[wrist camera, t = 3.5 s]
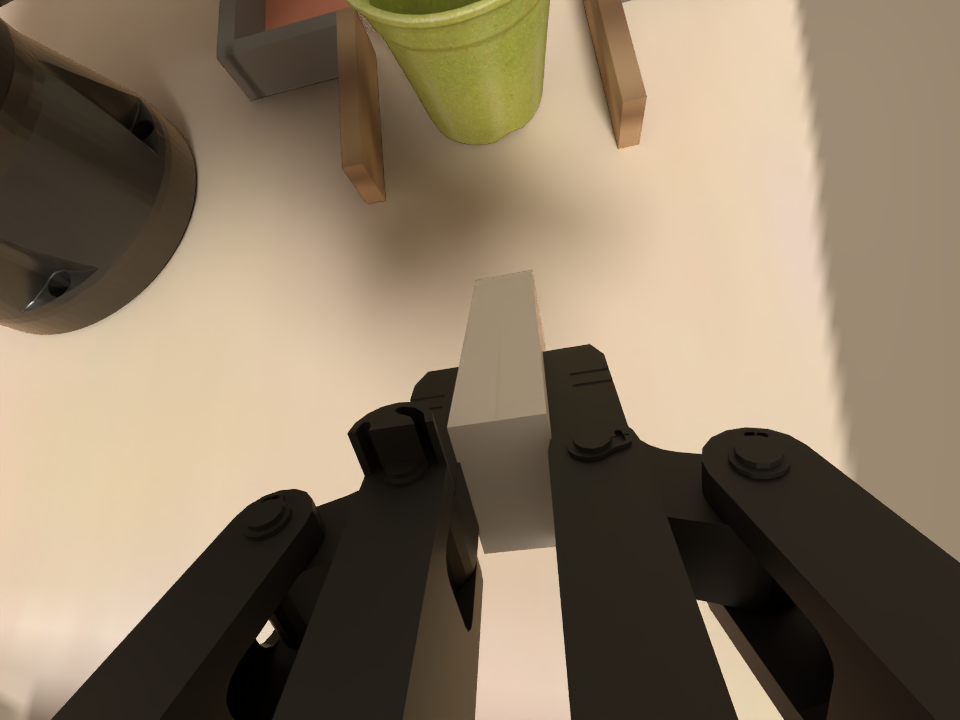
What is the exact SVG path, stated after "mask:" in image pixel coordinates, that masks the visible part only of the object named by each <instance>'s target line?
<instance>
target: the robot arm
mask: <svg viewBox="0 0 960 720" xmlns="http://www.w3.org/2000/svg"><path fill="white" fill-rule="evenodd" d="M11 1H13V0H0V7H2V6H3V5H5V4H7V3H9V2H11ZM195 187H196V175H195V166H194V161H193V157H192V154H191V151H190V148H189V146H188V144H187V142H186V140H185V139H184V137H183V136H182V135H181V133H180V132H179V131H178V130H177V129H176V128H175V127H174V126H173V125H172V124H171V123H170V122H169V121H168V120H167V119H166V118H165V117H164V116H163V115H161V114H160V113H159V112H158V111H157V110H156V109H155V108H154V107H153V106H152V105H151V104H149V103H148V102H147V101H146V100H144V99H143V98H142V97H140V96H139V95H137V94H136V93H134V92H132V91H131V90H129V89H127V88H125V87H123V86H121V85H119V84H117V83H115V82H113V81H111V80H109V79H107V78H105V77H104V76H102V75H100V74H98V73H96V72H94V71H92V70H90V69H88V68H86V67H84V66H82V65H80V64H78V63H76V62H74V61H73V60H71V59H69V58H67V57H65V56H63V55H61V54H59V53H57V52H55V51H53V50H51V49H49V48H47V47H45V46H43V45H42V44H40V43H38V42H36V41H34V40H32V39H30V38H28V37H26V36H24V35H22V34H21V33H19V32H18V31H16V30H15V29H13V28H12V27H11V26H10V25H8V24H7V23H6V22H5V21H4V20H2V19H1V18H0V325H3V326H6V327H9V328H12V329H16V330H19V331H22V332H26V333H31V334H40V335H52V334H61V333H66V332H71V331H75V330H78V329H81V328H84V327H87V326H89V325H92V324H94V323H96V322H98V321H100V320H102V319H104V318H106V317H108V316H109V315H111V314H113V313H114V312H116V311H117V310H119V309H120V308H122V307H123V306H125V305H126V304H127V303H129V302H130V301H131V300H132V299H134V298H135V297H136V296H137V295H138V294H139V293H140V292H141V291H143V290H144V289H145V288H146V287H147V286H148V285H149V284H150V282H151V281H152V280H153V279H154V278H155V277H156V276H157V275H158V273H159V272H160V271H161V270H162V268H163V267H164V266H165V264H166V263H167V261H168V260H169V259H170V257H171V256H172V254H173V252H174V251H175V249H176V247H177V245H178V243H179V242H180V240H181V238H182V236H183V233H184V231H185V229H186V226H187V224H188V221H189V218H190V215H191V211H192V207H193V203H194V197H195ZM410 401H411V402H401V403H395V404H391V405H387V406H384V407H381V408H379V409H377V410H375V411H373V412H370V413H368V414H367V415H365V416H364V417H363V418H361V419H360V420H359V421H357V422H356V423H355V424H354V425H353V427H352V428H351V429H350V431H349V432H348V433H347V434H348V436H349V439H350V441H351V444H352V446H353V448H354V451H355V453H356V456H357V458H358V461H359V463H360V465H361V468H362V470H363V473H364V475H365V477H364V480H363V482H362V485H361V487H360V490H359V491H357V492H355V493H352V494H350V495H348V496H345V497H342V498H340V499H337V500H334V501H331V502H329V503H326V504H323V505H320V506H317V507H316V506H315V504H314V502H313V499H312V498H311V497H310V496H309V495H308V493H307V492H304V491H301V490H297V489H290V490H280V491H277V492H275V493H272V494H268V495H266V496H264V497H262V498H260V499H259V500H257V501H255V502H253V503H252V504H250V505H248V506H247V507H246V508H245V509H244V510H243V511H242V512H240V513H239V514H238V515H237V516H236V517H235V518H234V519H233V520H232V521H231V522H230V523H229V524H228V525H227V527H226V528H225V529H224V530H223V531H222V532H221V533H220V534H219V535H218V536H217V538H216V539H215V540H214V541H213V542H212V543H211V544H210V545H209V546H208V547H207V549H206V550H205V551H204V552H203V553H202V554H201V555H200V556H199V557H198V558H197V560H196V561H195V562H194V563H193V564H192V565H191V566H190V567H189V568H188V569H187V571H186V572H185V573H184V574H183V575H182V576H181V577H180V578H179V579H178V580H177V582H176V583H175V584H174V585H173V586H172V587H171V588H170V589H169V590H168V591H167V593H166V594H165V595H164V596H163V597H162V598H161V599H160V600H159V601H158V602H157V604H156V605H155V606H154V607H153V608H152V609H151V610H150V611H149V612H148V613H147V615H146V616H145V617H144V618H143V619H142V620H141V621H140V622H139V623H138V624H137V626H136V627H135V628H134V629H133V630H132V631H131V632H130V633H129V634H128V635H127V637H126V638H125V639H124V640H123V641H122V642H121V643H120V644H119V645H118V647H117V648H116V649H115V650H114V651H113V652H112V653H111V654H110V655H109V656H108V658H107V659H106V660H105V661H104V662H103V663H102V664H101V665H100V666H99V667H98V669H97V670H96V671H95V672H94V673H93V674H92V675H91V676H90V677H89V678H88V680H87V681H86V682H85V683H84V684H83V685H82V686H81V687H80V688H79V689H78V691H77V692H76V693H75V694H74V695H73V696H72V697H71V698H70V699H69V700H68V702H67V703H66V704H65V705H64V706H63V707H62V708H61V709H60V710H59V711H58V713H57V714H56V715H55V716H54V717H53V718H52V719H51V720H475V708H476V691H477V674H478V658H479V641H480V624H481V608H482V591H483V578H482V572H481V568H480V565H479V561H478V558H477V549H478V536H479V537H480V540H481V544H482V547H483V550H484V554H487V553H497V552H506V551H516V550H526V549H536V548H545V547H555V546H556V552H557V564H558V575H559V586H560V598H561V609H562V621H563V632H564V644H565V655H566V666H567V678H568V689H569V701H570V712H571V720H738V718H737V715H736V712H735V709H734V706H733V703H732V701H731V698H730V695H729V692H728V689H727V686H726V683H725V681H724V678H723V675H722V672H721V669H720V666H719V664H718V661H717V658H716V655H715V652H714V649H713V646H712V644H711V641H710V638H709V635H708V632H707V629H706V627H705V624H704V621H703V618H702V615H701V612H700V610H699V607H698V604H697V601H696V599H697V600H702V601H706V602H707V603H708V605H709V608H710V609H711V611H712V612H713V614H714V615H715V617H716V618H717V620H718V621H719V623H720V624H721V626H722V627H723V629H724V630H725V632H726V633H727V635H728V636H729V638H730V639H731V641H732V642H733V644H734V645H735V647H736V648H737V650H738V651H739V653H740V654H741V656H742V657H743V659H744V660H745V662H746V663H747V665H748V666H749V668H750V669H751V671H752V672H753V674H754V675H755V677H756V678H757V680H758V681H759V683H760V684H761V686H762V687H763V689H764V690H765V692H766V693H767V695H768V696H769V698H770V699H771V701H772V702H773V704H774V705H775V707H776V708H777V710H778V711H779V713H780V714H781V716H782V717H783V719H784V720H960V563H959V562H958V561H957V560H956V559H954V558H953V557H952V556H950V555H949V554H948V553H946V552H945V551H944V550H943V549H941V548H940V547H939V546H937V545H936V544H935V543H933V542H932V541H931V540H930V539H928V538H927V537H926V536H924V535H923V534H922V533H920V532H919V531H918V530H917V529H915V528H914V527H913V526H911V525H910V524H909V523H907V522H906V521H905V520H904V519H902V518H901V517H900V516H898V515H897V514H896V513H894V512H893V511H892V510H890V509H889V508H888V507H887V506H885V505H884V504H882V503H881V502H880V501H879V500H878V499H876V498H875V497H874V496H872V495H871V494H870V493H868V492H867V491H866V490H865V489H863V488H862V487H861V486H859V485H858V484H857V483H855V482H854V481H853V480H851V479H850V478H849V477H848V476H846V475H845V474H844V473H842V472H841V471H840V470H838V469H837V468H836V467H835V466H833V465H832V464H831V463H829V462H828V461H827V460H825V459H824V458H823V457H822V456H820V455H819V454H818V453H816V452H815V451H814V450H812V449H811V448H810V447H809V446H807V445H806V444H804V443H802V442H800V441H799V440H797V439H795V438H793V437H791V436H790V435H787V434H784V433H780V432H777V431H773V430H769V429H761V428H739V429H733V430H726V431H724V432H722V433H720V434H718V435H716V436H714V437H711V439H710V440H709V441H708V442H707V443H706V444H705V446H704V447H703V449H702V454H693V453H682V452H674V451H668V450H662V449H659V448H656V447H653V446H650V445H648V444H647V443H645V442H643V441H641V440H640V439H639V438H638V436H637V435H636V434H635V432H634V431H633V429H631V428H629V427H628V425H627V422H626V419H625V416H624V413H623V410H622V407H621V404H620V401H619V398H618V395H617V392H616V389H615V386H614V383H613V381H612V377H611V374H610V371H609V368H608V365H607V362H606V359H605V356H604V354H603V353H602V352H600V351H599V350H597V349H596V348H595V347H593V346H592V345H590V344H588V345H581V346H575V347H569V348H563V349H557V350H550V351H546V347H545V341H544V335H543V329H542V323H541V318H540V312H539V306H538V300H537V294H536V289H535V283H534V277H533V271H532V270H529V271H524V272H518V273H513V274H508V275H502V276H497V277H492V278H486V279H481V280H476V283H475V288H474V293H473V298H472V303H471V308H470V313H469V318H468V323H467V328H466V334H465V339H464V344H463V349H462V354H461V359H460V364H459V367H456V368H449V369H443V370H437V371H431V372H428V373H427V374H426V375H425V376H424V377H423V378H422V379H421V380H420V381H419V382H418V383H417V384H416V385H415V387H414V390H413V393H412V396H411V399H410ZM268 620H269V621H270V622H271V624H272V626H273V627H274V629H275V630H274V631H273V633H272V634H271V636H270V637H269V638H268V639H267V640H266V641H265V642H264V643H262V644H259V643H258V642H257V640H256V637H257V636H258V634H259V633H260V632H261V630H262V629H263V627H264V626H265V624H266V623H267V621H268Z"/></svg>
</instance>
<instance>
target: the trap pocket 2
mask: <svg viewBox="0 0 960 720" xmlns="http://www.w3.org/2000/svg"><path fill="white" fill-rule="evenodd" d="M348 7H351V6H350V5H349V4H348V3H347V1H346V0H220V9H219V27H218V44H217V60H218V61H219V62H220V63H221V65H222V66H223V67H224V68H225V69H226V71H227V72H228V73H229V74H230V76H231V77H232V78H233V79H234V80H235V82H236V83H237V84H238V85H239V87H240V88H241V89H242V90H243V92H244V93H245V94H246V95H247V96H248V98H249V99H250V100H254V99H258V98H262V97H266V96H269V95H273V94H277V93H281V92H284V91H288V90H292V89H296V88H300V87H303V86H307V85H311V84H315V83H319V82H322V81H326V80H330V79H334V78H338V77H339V75H338V47H337V20H336V11H338V10H341V9H344V8H348ZM344 12H345V11H344ZM356 12H357V11H356ZM339 15H340V14H339Z"/></svg>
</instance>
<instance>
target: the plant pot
mask: <svg viewBox="0 0 960 720" xmlns="http://www.w3.org/2000/svg"><path fill="white" fill-rule="evenodd" d="M346 1H347V3H348V4H349V5H350V6H351V7H352V8H354V9H355V10H356V11H357V12H359V13H360V14H362V15H364V16H365V17H366V18H367V20H368V21H369V23H370V24H371V25H372V26H373V28H374V29H375V30H377V31H378V32H379V33H380V34H381V35H382V36H383V38H384V39H385V41H386V43H387V44H388V46H389V48H390V49H391V51H392V53H393V54H394V56H395V58H396V59H397V61H398V62H399V64H400V66H401V67H402V69H403V71H404V73H405V74H406V76H407V78H408V80H409V81H410V83H411V85H412V86H413V88H414V90H415V91H416V93H417V95H418V97H419V98H420V100H421V102H422V104H423V105H424V107H425V109H426V111H427V112H428V114H429V116H430V118H431V119H432V121H433V122H434V124H435V125H436V126H437V127H438V129H439V130H440V131H441V132H442V133H443V134H444V135H445V136H447V137H448V138H450V139H452V140H455V141H458V142H461V143H465V144H475V145H479V144H489V143H493V142H496V141H498V140H499V139H500V138H502V137H503V136H505V135H506V134H508V133H510V132H511V131H514V130H516V129H520V128H522V127H524V126H525V125H526V124H527V123H528V122H529V121H530V119H531V118H532V117H533V115H534V114H535V112H536V111H537V109H538V107H539V104H540V101H541V97H542V90H543V78H544V65H545V52H546V39H547V27H548V16H549V6H550V0H346Z"/></svg>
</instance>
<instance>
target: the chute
mask: <svg viewBox="0 0 960 720" xmlns="http://www.w3.org/2000/svg"><path fill="white" fill-rule="evenodd" d="M583 2H584V6H585V10H586V14H587V18H588V23H589V27H590V31H591V35H592V40H593V44H594V48H595V52H596V57H597V61H598V65H599V69H600V74H601V78H602V82H603V86H604V90H605V95H606V99H607V103H608V107H609V112H610V116H611V120H612V124H613V129H614V133H615V137H616V141H617V146H618V149H619V148H624V147H628V146H633V145H637V144H639V142H640V136H641V129H642V123H643V117H644V110H645V104H646V98H647V96H646V92H645V89H644V85H643V81H642V77H641V74H640V70H639V66H638V62H637V59H636V55H635V51H634V47H633V44H632V40H631V36H630V32H629V29H628V25H627V21H626V17H625V14H624V10H623V6H622V2H621V0H583ZM344 11H345V12H344ZM339 14H340V15H339ZM336 20H337V47H338V75H339V102H340V129H341V156H342V169H343V170H344V172H345V173H346V175H347V176H348V178H349V179H350V180H351V182H352V183H353V185H354V186H355V187H356V189H357V190H358V192H359V193H360V194H361V196H362V197H363V199H364V200H365V202H366V203H367V204H371V203H376V202H380V201H385V186H384V171H383V156H382V141H381V126H380V111H379V96H378V80H377V65H376V53H375V51H374V49H373V47H372V45H371V42H370V40H369V38H368V36H367V34H366V31H365V29H364V27H363V25H362V23H361V20H360V18H359V16H358V14H357V12H356V10H355V9H354V8H352V7H348V8H344V9H341V10H338V11H336Z"/></svg>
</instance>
